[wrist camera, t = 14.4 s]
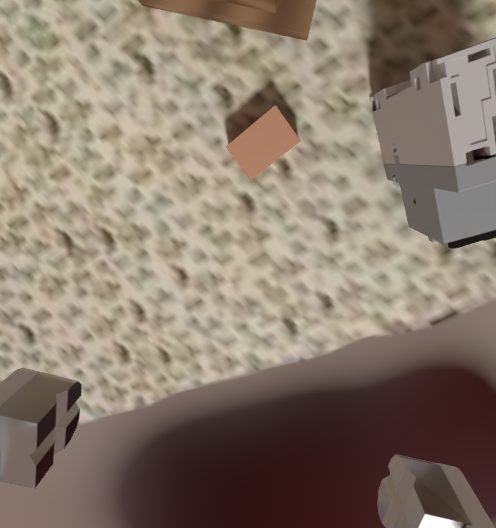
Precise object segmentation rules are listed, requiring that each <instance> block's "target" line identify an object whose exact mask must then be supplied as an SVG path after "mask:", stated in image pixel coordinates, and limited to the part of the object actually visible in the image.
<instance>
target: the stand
mask: <svg viewBox="0 0 496 528" xmlns="http://www.w3.org/2000/svg"><path fill="white" fill-rule="evenodd" d="M138 1H139V2H140V3H141V4H142V5H143V6H147V7H152V8H156V9H161V10H166V11H170V12H175V13H180V14H185V15H189V16H194V17H199V18H204V19H208V20H213V21H218V22H223V23H227V24H232V25H237V26H241V27H246V28H251V29H256V30H260V31H265V32H270V33H275V34H279V35H284V36H289V37H293V38H298V39H303V40H307V38H308V34H309V30H310V26H311V21H312V17H313V12H314V8H315V3H316V0H138Z"/></svg>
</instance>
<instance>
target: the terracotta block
mask: <svg viewBox="0 0 496 528" xmlns="http://www.w3.org/2000/svg"><path fill="white" fill-rule="evenodd" d="M299 142H300V139H299V138H298V136H297V135H296V133H295V132H294V131H293V129H292V128H291V126H290V125H289V123H288V122H287V121H286V119H285V118H284V116H283V115H282V113H281V112H280V111H279V109H278V108H277V106H276V105H275V106H274V107H273V108H271V109H270V110H269V111H268V112H267V113H265V114H264V115H263V116H262V117H261V118H259V119H258V120H257V121H256V122H255V123H253V124H252V125H251V126H250V127H249V128H247V129H246V130H245V131H244V132H243V133H241V134H240V135H239V136H238V137H237V138H235V139H234V140H233V141H232V142H231V143H229V144H228V145H227V146H226V148H227V149H228V151H229V152H230V153H231V155H232V156H233V157H234V159H235V160H236V161H237V163H238V164H239V165H240V167H241V168H242V169H243V171H244V172H245V173H246V175H247V176H248V177H249V179H250V180H252V179H253V178H254V177H256V176H257V175H258V174H259V173H261V172H262V171H263V170H264V169H266V168H267V167H268V166H270V165H271V164H272V163H273V162H275V161H276V160H277V159H278V158H280V157H281V156H282V155H283V154H285V153H286V152H287V151H289V150H290V149H291V148H292V147H294V146H295V145H296V144H297V143H299Z"/></svg>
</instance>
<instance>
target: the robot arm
mask: <svg viewBox="0 0 496 528" xmlns="http://www.w3.org/2000/svg"><path fill="white" fill-rule="evenodd" d="M81 385H82V384H81V383H80V382H79V381H75V380H71V379H67V378H63V377H59V376H55V375H51V374H47V373H44V372H42V373H41V372H38V371H34V370H30V369H26V368H21V369H17V370H16V371H15V372H13V373H12V374H11V375H10V376H8V377H7V378H6V379H5V380H3V381H2V382H1V383H0V482H5V483H10V484H16V485H20V486H25V487H30V488H36V487H37V485H38V484H39V483H40V481H41V480H42V478H43V477H44V476H45V474H46V473H47V472H48V470H49V469H50V468H51V466H52V465H53V460H54V454H55V453H57V452H59V451H61V450H63V449H65V447H66V446H67V444H68V443H69V442H70V440H71V438H72V436H73V434H74V432H75V430H76V428H77V424H78V421H79V415H80V409H79V407H78V406H77V404H76V401H77V400H78V399H79V397H80V396H81ZM388 467H389V470H390V473H391V475H389V476H388V477H386V478H384V479H383V480H382V483H381V485H380V488H379V492H378V508H379V514H380V518H381V522H382V524H383V525H384V526H385V527H386V528H495V527H494V526H493V524H492V522H491V521H490V519H489V517H488V516H487V514H486V512H485V511H484V509H483V507H482V506H481V504H480V502H479V500H478V499H477V497H476V496H475V494H474V492H473V491H472V489H471V487H470V485H469V484H468V482H467V480H466V479H465V477H464V475H463V474H462V472H461V471H460V470H459V469H458V468H456V467H453V466H448V465H443V464H438V463H432V462H428V461H423V460H418V459H414V458H410V457H405V456H401V455H395V456H394V457H392V459H391V461H390V463H389V466H388Z"/></svg>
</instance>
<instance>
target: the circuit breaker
mask: <svg viewBox="0 0 496 528" xmlns="http://www.w3.org/2000/svg"><path fill="white" fill-rule="evenodd" d="M409 73H410V78H411V79H410V80H407V81H404V82H402V83H399V84H396V85H393V86H390V87H387V88H385V89H382V90H381V91H379V92H378V93H376V94H375V95H374V96H373V97H370V102H373V101H375V105H376V110H375V111H373V116H374V120H375V125H376V129H377V134H378V139H379V143H380V148H381V153H382V157H383V162H384V166H385V171H386V175H387V179H388V180H392V181H394V180H395V181H398V182H399V183H400V187H401V192H402V197H403V201H404V206H405V211H406V216H407V220H408V225H409V227H411V228H413V229H415V230H417V231H419V232H420V233H422V234H424V235H426V236H428V238H429V240H430V241H431V242H435V241H438V242H440V243H443V244H446V243H448V247H449V248H459V247H462V246H465V245H468V244H472V243H475V242H478V241H482V240H484V241H485V240H489V239H492V238H496V38H493V39H490V40H487V41H484V42H482V43H479V44H476V45H473V46H470V47H468V48H465V49H462V50H459V51H456V52H454V53H451V54H448V56H445V57H441V58H438V59H435V60H431V61H428V62H426V63H423V64H421V65H419V66H418V67H416V68H415V69H413V70H412V71H410V72H409Z"/></svg>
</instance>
